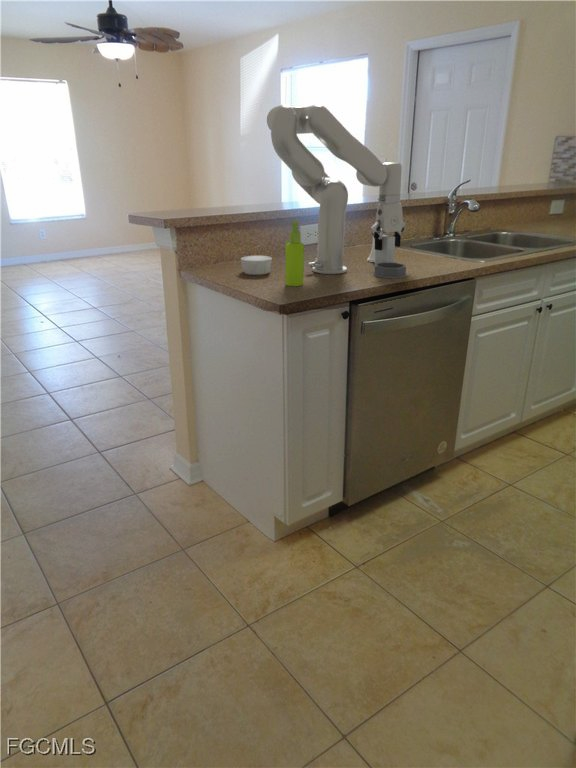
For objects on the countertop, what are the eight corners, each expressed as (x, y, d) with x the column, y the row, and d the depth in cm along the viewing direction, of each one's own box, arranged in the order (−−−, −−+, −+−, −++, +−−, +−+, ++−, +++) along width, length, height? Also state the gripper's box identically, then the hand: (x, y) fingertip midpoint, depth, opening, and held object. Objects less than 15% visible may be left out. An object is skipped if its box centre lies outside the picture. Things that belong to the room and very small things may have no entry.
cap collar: (390, 279, 189) (391, 270, 187) (366, 274, 197) (367, 264, 196) (412, 275, 195) (413, 266, 194) (388, 270, 204) (389, 260, 202)
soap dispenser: (302, 281, 186) (303, 220, 178) (303, 286, 180) (304, 223, 172) (285, 281, 186) (285, 220, 178) (285, 286, 180) (286, 222, 172)
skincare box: (393, 269, 205) (396, 236, 200) (385, 271, 202) (388, 237, 197) (381, 266, 209) (383, 234, 204) (373, 268, 207) (375, 235, 202)
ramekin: (237, 270, 202) (237, 256, 200) (266, 268, 205) (266, 254, 203) (246, 276, 192) (245, 261, 190) (276, 274, 196) (276, 259, 194)
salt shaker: (371, 258, 224) (373, 233, 220) (389, 260, 221) (391, 235, 217) (364, 261, 218) (366, 236, 214) (382, 263, 215) (384, 237, 211)
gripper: (380, 202, 188) (378, 252, 195) (413, 198, 198) (410, 246, 205) (364, 201, 194) (363, 250, 201) (397, 197, 203) (395, 243, 210)
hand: (387, 248), depth 203 cm, fingers open, 9 cm apart
